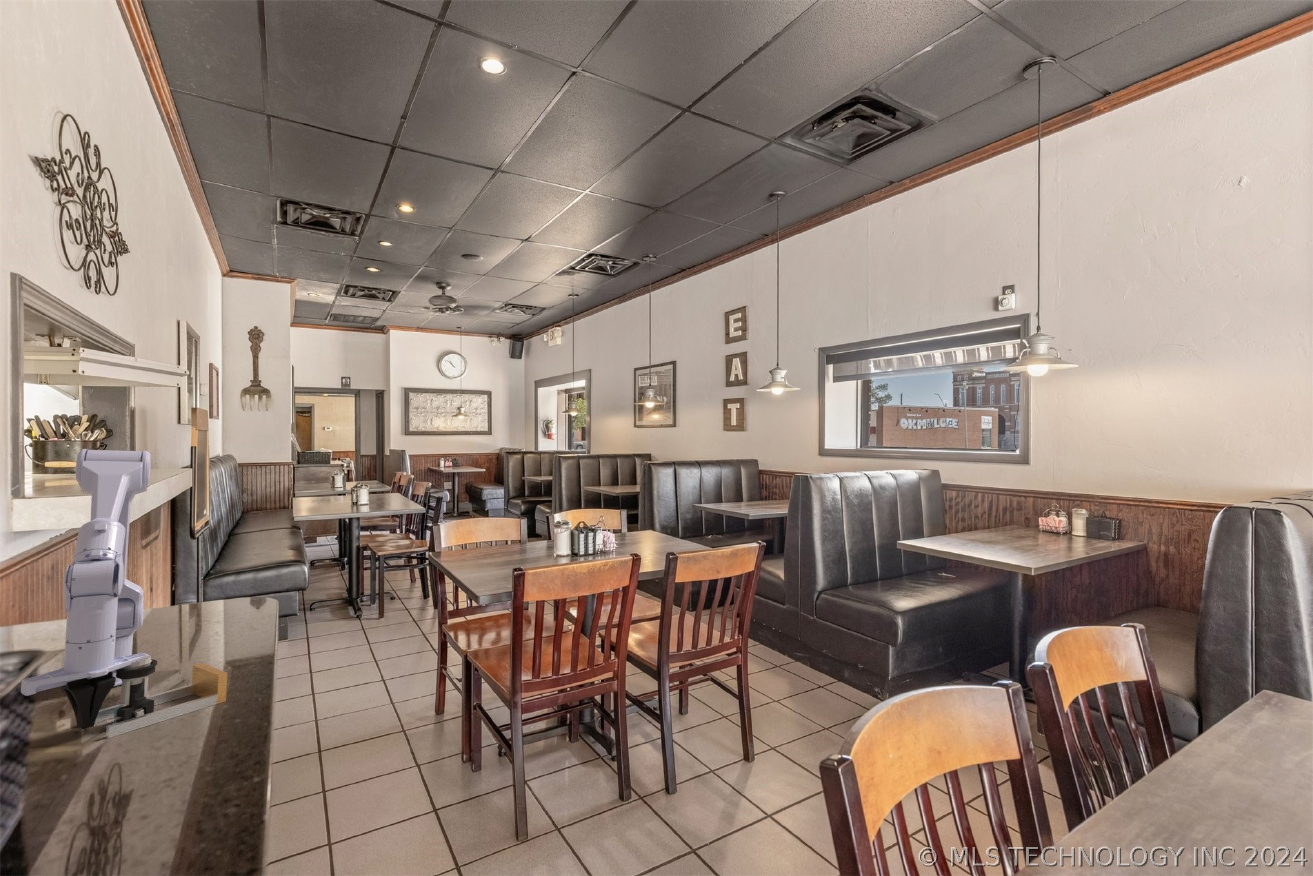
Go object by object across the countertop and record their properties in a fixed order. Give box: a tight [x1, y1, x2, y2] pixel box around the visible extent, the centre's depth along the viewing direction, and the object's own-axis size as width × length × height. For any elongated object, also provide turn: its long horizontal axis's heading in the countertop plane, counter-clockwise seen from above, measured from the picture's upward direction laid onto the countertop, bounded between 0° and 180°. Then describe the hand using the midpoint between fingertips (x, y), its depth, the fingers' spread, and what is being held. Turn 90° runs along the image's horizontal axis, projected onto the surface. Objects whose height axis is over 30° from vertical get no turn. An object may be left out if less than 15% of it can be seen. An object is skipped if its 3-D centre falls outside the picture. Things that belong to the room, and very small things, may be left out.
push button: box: [105, 654, 158, 729], centre depth 98 cm, size 7×5×10 cm
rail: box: [95, 662, 228, 739], centre depth 102 cm, size 9×16×5 cm, turn 152°
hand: (85, 726), depth 93 cm, fingers closed
